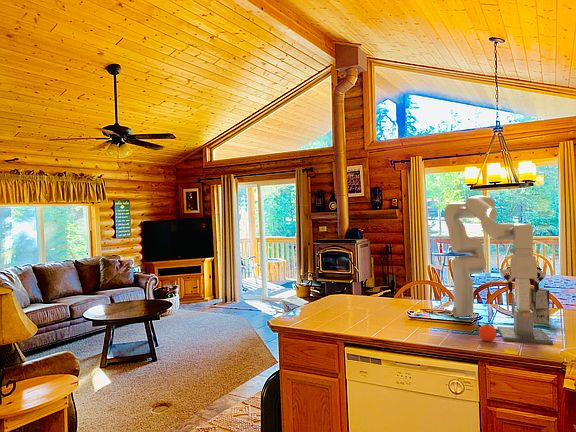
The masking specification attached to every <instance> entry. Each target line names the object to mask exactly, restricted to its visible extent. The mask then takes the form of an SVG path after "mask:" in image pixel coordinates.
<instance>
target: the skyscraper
mask: <svg viewBox="0 0 576 432" xmlns="http://www.w3.org/2000/svg"><path fill="white" fill-rule="evenodd" d="M514 279H515V281H514V290H512V293H511V294H512V295H511V296H512V297H511V312H510V313H511V314H513V315H514V308H516V305H517V278H514ZM530 280H531V279H529V288H532V286H531V281H530Z"/></svg>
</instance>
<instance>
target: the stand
mask: <svg viewBox="0 0 576 432" xmlns="http://www.w3.org/2000/svg"><path fill="white" fill-rule="evenodd" d="M497 331H498V333H499V335H500V336H501V339H502V340H503V341H504V342H516V343H517V342H518V343H528V344H529V343H530V344H543V345H553V343H554V341H553V340H552V338H551V337H550V336H549V335H548V334H547V333H546V332H545V331H544V330H543V329H541V328H540V329H538V328H534V321H533V312H532V311H531V310H530V312H524V311H518V310H517V307H515V308H514V314H513V327H511V326H497Z"/></svg>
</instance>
